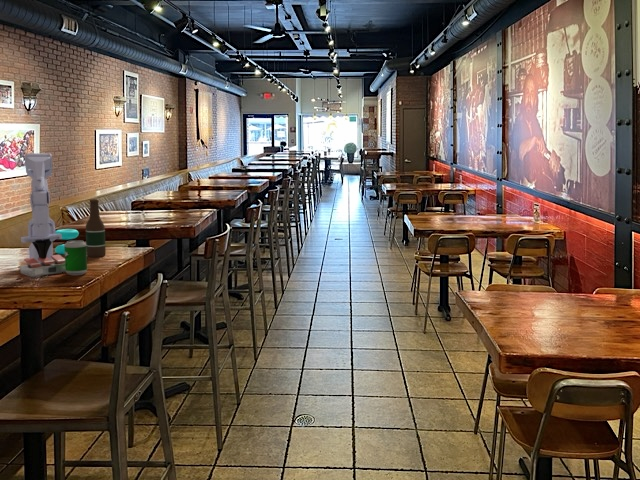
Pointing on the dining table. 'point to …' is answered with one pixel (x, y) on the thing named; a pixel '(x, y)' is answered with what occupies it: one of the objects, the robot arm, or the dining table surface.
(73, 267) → the soda can
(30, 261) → the rocker
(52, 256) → the rocker
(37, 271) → the console
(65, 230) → the donuts
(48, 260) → the rocker
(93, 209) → the beer bottle
